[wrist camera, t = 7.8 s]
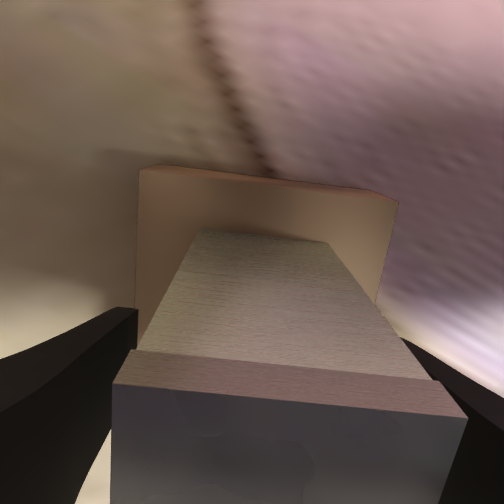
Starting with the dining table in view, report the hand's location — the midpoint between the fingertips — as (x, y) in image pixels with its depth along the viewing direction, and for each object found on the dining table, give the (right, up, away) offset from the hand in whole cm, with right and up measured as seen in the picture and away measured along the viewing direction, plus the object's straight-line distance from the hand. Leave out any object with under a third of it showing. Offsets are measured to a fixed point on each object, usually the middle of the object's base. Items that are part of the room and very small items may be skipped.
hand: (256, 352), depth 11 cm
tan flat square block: (0, +2, +6) cm, 6 cm away
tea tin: (0, +1, +3) cm, 3 cm away
